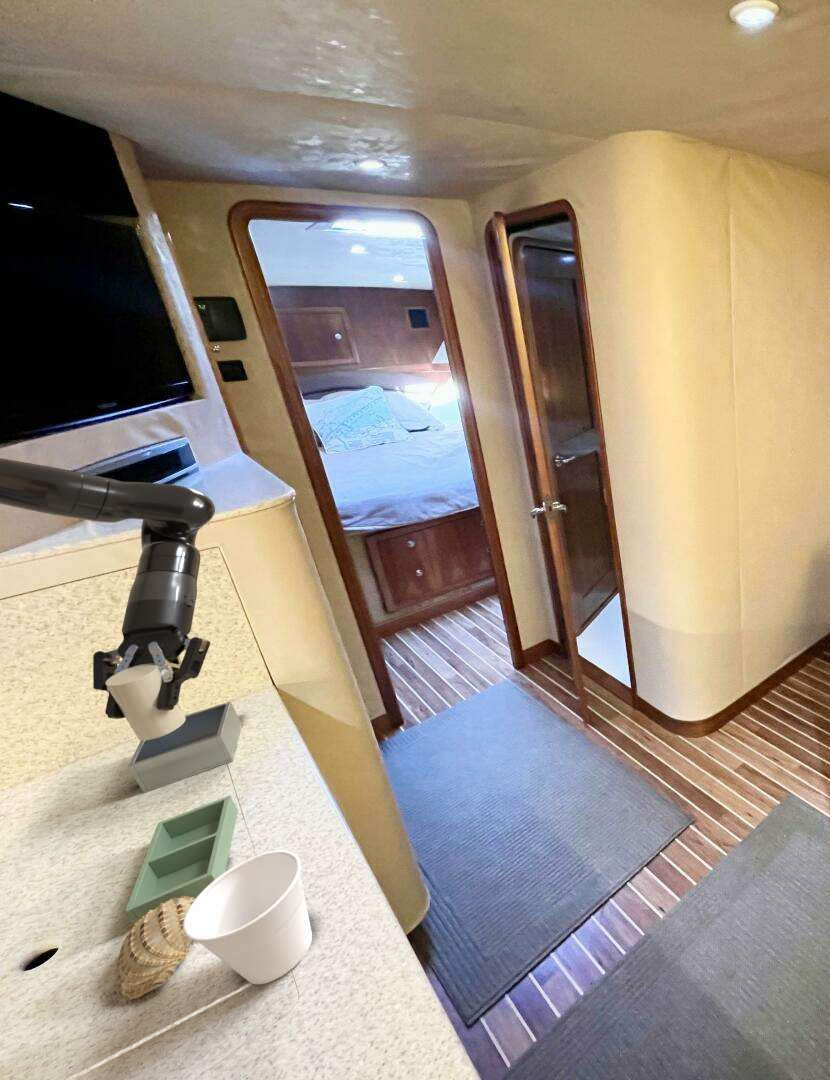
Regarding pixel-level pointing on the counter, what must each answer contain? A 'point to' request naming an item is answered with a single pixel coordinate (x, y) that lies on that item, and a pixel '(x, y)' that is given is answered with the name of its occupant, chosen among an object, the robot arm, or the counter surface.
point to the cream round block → (144, 701)
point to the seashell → (153, 948)
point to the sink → (187, 748)
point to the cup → (254, 917)
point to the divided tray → (184, 856)
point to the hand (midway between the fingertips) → (141, 713)
